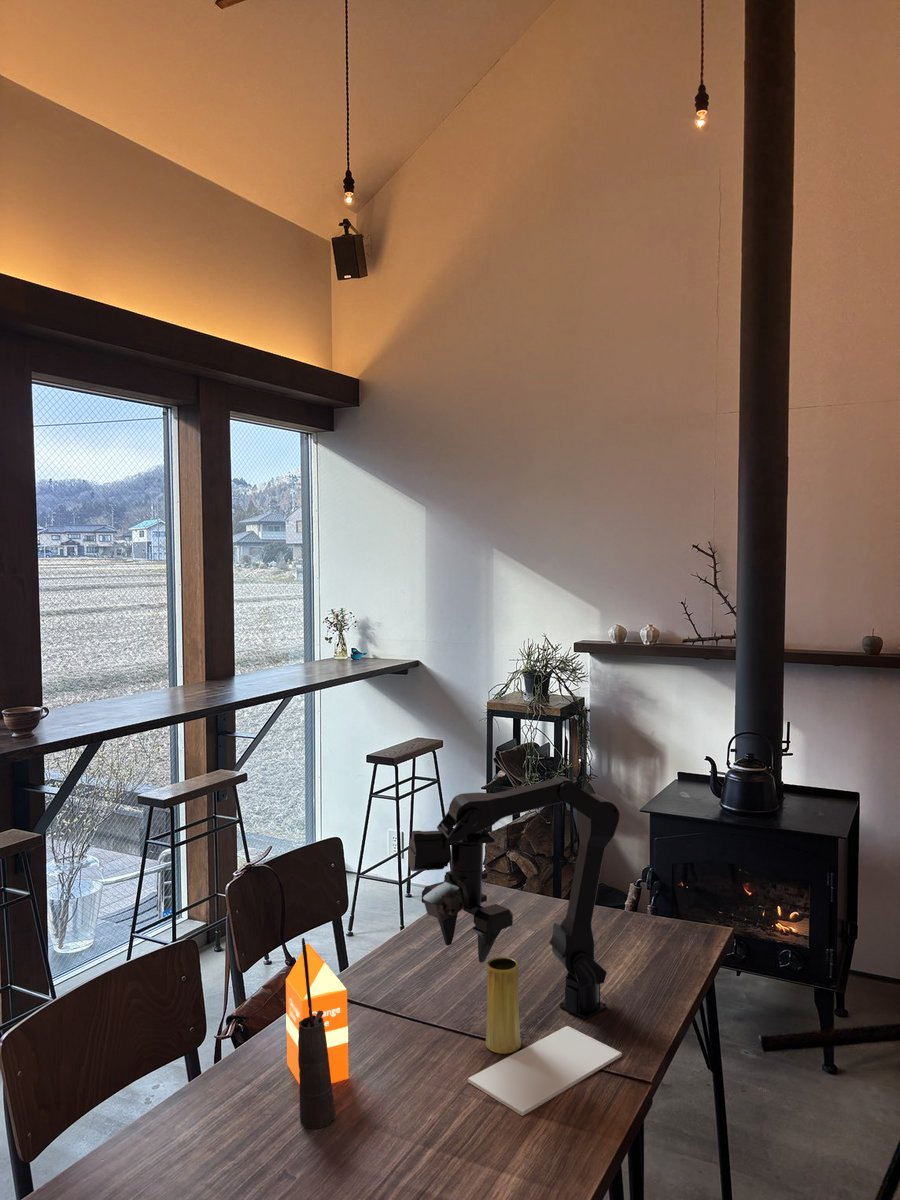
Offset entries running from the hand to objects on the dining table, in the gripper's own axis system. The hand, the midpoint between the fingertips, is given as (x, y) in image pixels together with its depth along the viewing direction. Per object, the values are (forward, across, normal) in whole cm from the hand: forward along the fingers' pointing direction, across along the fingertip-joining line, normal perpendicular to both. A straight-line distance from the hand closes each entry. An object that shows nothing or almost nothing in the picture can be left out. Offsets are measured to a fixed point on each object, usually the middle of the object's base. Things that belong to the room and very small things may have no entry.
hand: (464, 953), depth 159 cm
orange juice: (+14, -5, -27) cm, 31 cm away
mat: (+13, +19, +1) cm, 23 cm away
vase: (+13, +9, +1) cm, 16 cm away
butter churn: (+14, +5, -33) cm, 36 cm away
